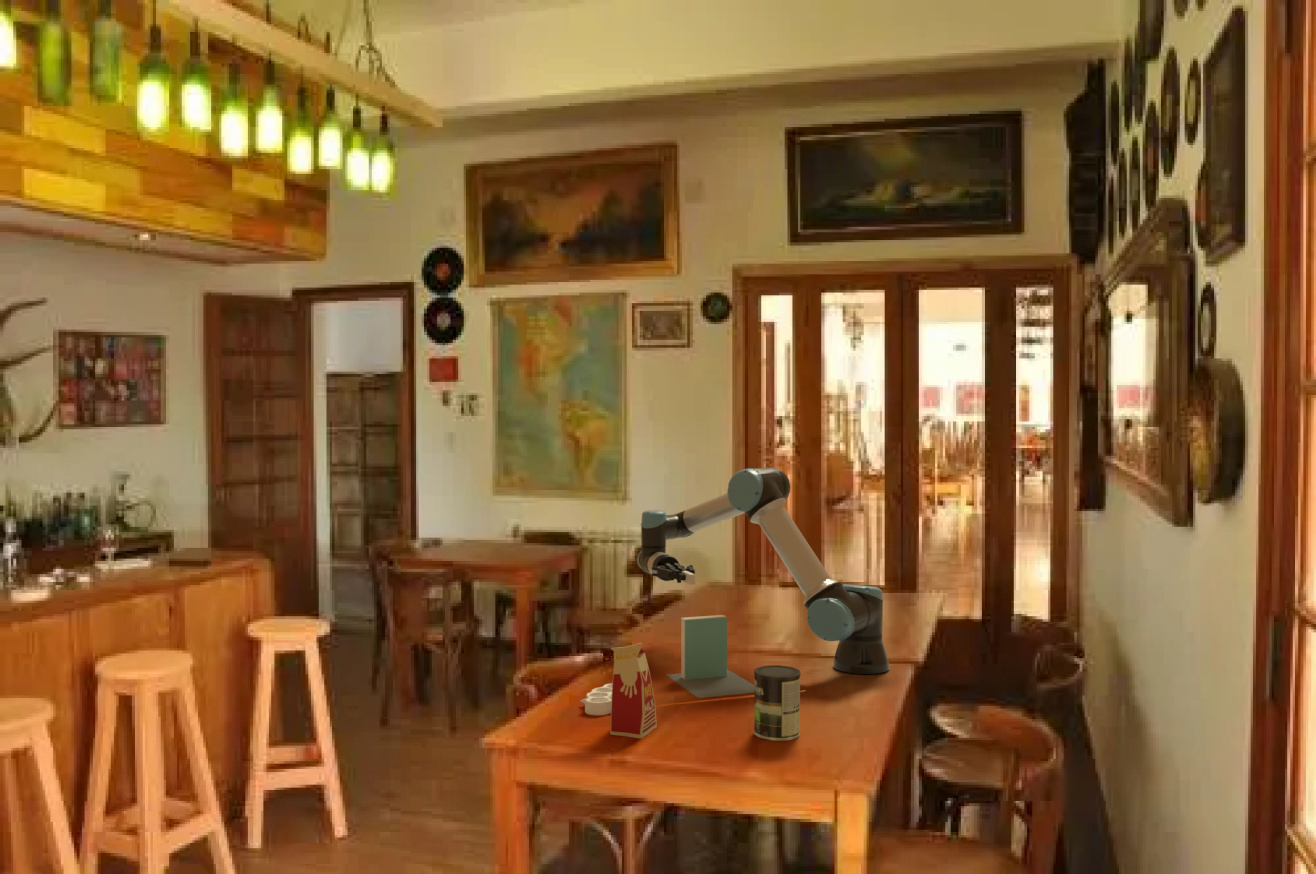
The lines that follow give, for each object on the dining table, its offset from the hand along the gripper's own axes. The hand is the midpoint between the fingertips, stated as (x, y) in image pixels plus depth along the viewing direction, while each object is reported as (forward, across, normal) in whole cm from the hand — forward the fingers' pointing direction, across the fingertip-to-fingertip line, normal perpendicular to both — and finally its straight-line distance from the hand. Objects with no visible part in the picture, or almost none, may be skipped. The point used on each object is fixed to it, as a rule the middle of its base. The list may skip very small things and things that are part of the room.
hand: (692, 579), depth 282 cm
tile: (+9, 0, -25) cm, 26 cm away
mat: (+16, 0, -25) cm, 30 cm away
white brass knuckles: (+25, +30, -26) cm, 47 cm away
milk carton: (+45, +32, -25) cm, 61 cm away
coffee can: (+58, +2, -25) cm, 63 cm away
